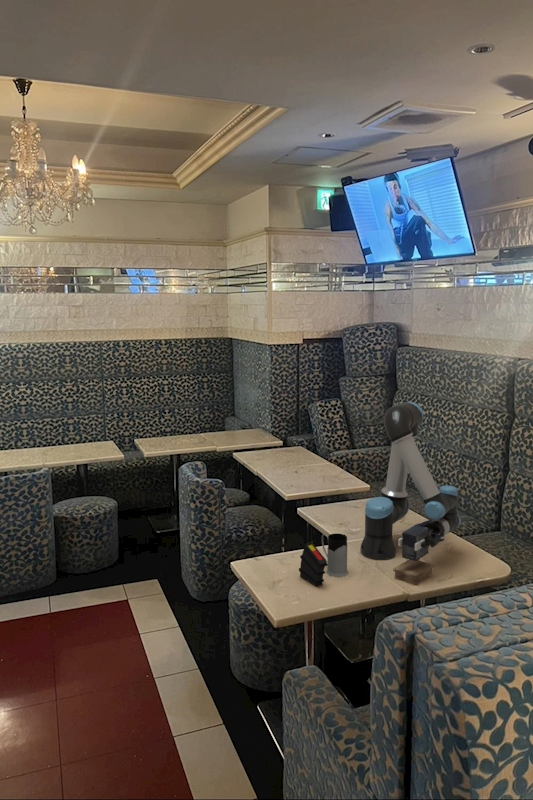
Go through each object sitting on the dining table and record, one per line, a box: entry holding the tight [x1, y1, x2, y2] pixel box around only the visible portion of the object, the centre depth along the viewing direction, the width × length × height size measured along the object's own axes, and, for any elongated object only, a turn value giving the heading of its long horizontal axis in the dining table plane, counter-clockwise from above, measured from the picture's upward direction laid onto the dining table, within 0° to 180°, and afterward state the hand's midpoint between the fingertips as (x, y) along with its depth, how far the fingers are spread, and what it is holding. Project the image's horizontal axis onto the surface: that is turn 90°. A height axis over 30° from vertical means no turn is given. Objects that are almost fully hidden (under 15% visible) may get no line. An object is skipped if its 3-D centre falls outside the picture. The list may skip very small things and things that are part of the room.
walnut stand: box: [392, 559, 435, 586], centre depth 244 cm, size 10×14×4 cm
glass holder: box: [321, 533, 349, 578], centre depth 249 cm, size 9×14×15 cm, turn 33°
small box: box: [401, 524, 429, 561], centre depth 242 cm, size 11×6×10 cm, turn 139°
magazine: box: [298, 541, 328, 588], centre depth 239 cm, size 4×13×15 cm, turn 34°
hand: (407, 545), depth 238 cm, fingers closed on small box, 6 cm apart
